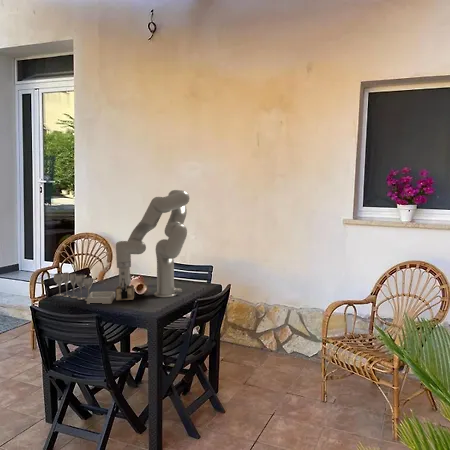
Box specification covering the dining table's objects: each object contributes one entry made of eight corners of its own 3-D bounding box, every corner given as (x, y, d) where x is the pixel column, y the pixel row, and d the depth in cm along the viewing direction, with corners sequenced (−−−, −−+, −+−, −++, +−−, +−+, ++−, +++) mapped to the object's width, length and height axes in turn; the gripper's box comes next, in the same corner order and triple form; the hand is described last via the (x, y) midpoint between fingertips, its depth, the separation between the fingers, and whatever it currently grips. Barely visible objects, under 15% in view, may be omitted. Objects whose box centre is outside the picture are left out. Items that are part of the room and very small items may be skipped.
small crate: (134, 296, 251) (134, 285, 250) (133, 299, 244) (132, 288, 243) (117, 296, 250) (117, 286, 249) (116, 300, 243) (115, 289, 243)
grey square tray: (114, 297, 252) (114, 291, 252) (111, 303, 240) (111, 297, 240) (91, 297, 251) (91, 291, 251) (86, 303, 239) (86, 297, 238)
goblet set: (96, 299, 246) (94, 274, 244) (87, 301, 241) (86, 277, 239) (60, 293, 260) (59, 270, 259) (52, 295, 255) (51, 272, 254)
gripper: (129, 267, 236) (130, 300, 239) (132, 260, 254) (134, 292, 256) (114, 267, 236) (115, 301, 238) (119, 261, 253) (120, 292, 255)
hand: (125, 296), depth 247 cm, fingers closed on small crate, 6 cm apart
